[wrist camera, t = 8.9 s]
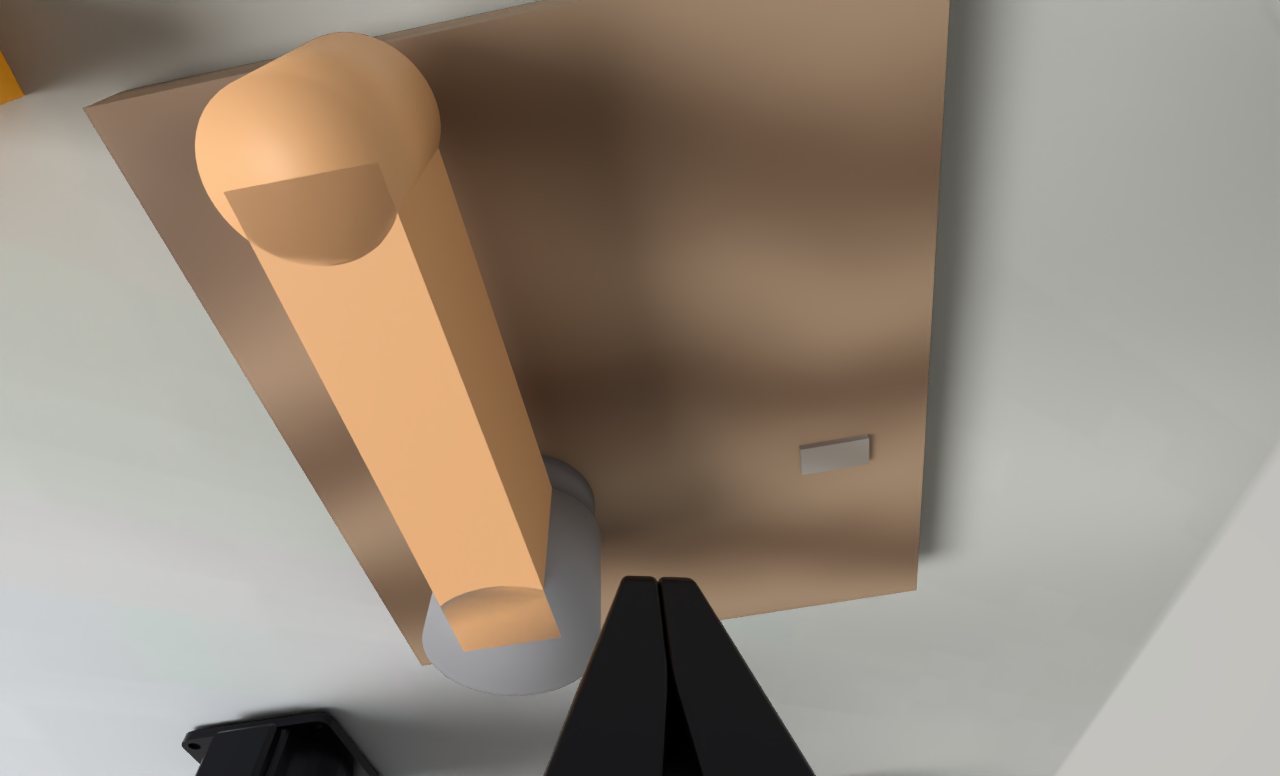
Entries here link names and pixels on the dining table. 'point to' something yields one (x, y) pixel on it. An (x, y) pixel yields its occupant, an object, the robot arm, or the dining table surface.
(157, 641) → the dining table surface
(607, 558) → the mount plate
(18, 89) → the pipe clamp
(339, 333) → the latch lever
